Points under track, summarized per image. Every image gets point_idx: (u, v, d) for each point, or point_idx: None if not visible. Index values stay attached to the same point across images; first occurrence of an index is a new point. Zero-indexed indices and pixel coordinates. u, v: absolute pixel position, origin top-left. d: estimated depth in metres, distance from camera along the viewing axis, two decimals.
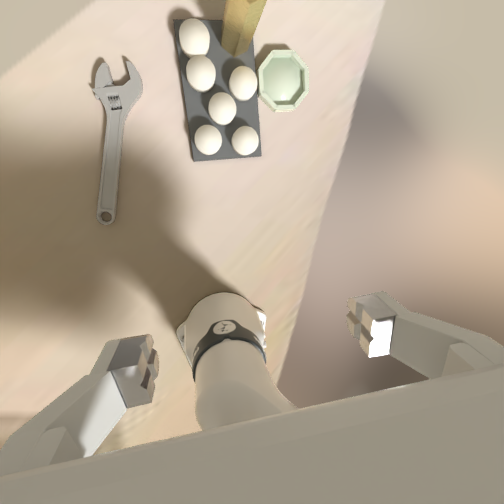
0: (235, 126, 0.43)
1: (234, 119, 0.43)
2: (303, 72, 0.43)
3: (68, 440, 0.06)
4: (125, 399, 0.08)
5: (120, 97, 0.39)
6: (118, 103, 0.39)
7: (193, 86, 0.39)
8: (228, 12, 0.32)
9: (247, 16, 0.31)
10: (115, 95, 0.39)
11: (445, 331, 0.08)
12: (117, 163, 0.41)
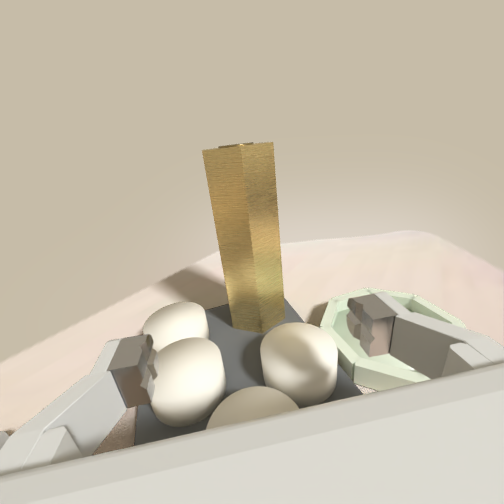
0: None
1: None
2: (412, 307, 0.20)
3: (68, 440, 0.06)
4: (125, 399, 0.08)
5: None
6: None
7: (160, 409, 0.13)
8: (217, 222, 0.16)
9: (249, 192, 0.15)
10: None
11: (445, 331, 0.08)
12: None
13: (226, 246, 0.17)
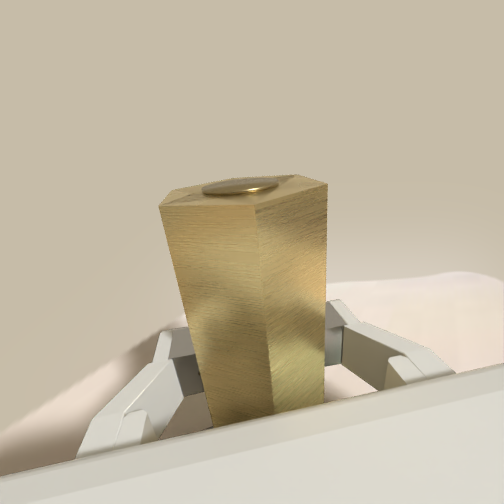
0: None
1: None
2: None
3: (148, 423, 0.06)
4: (183, 387, 0.09)
5: None
6: None
7: None
8: (198, 347, 0.08)
9: (273, 303, 0.06)
10: None
11: (388, 342, 0.08)
12: None
13: (218, 389, 0.08)
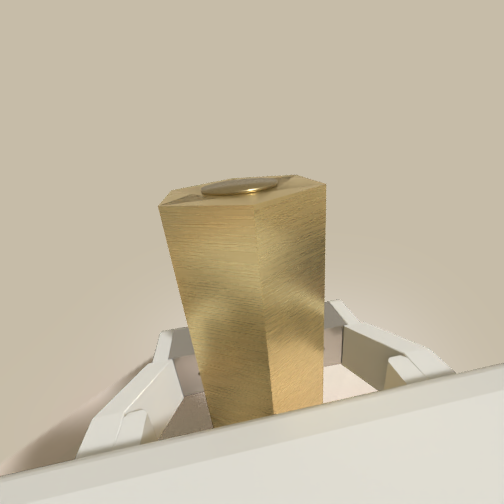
0: None
1: None
2: None
3: (148, 423, 0.06)
4: (183, 387, 0.09)
5: None
6: None
7: None
8: (197, 346, 0.08)
9: (272, 302, 0.06)
10: None
11: (388, 342, 0.08)
12: None
13: (217, 388, 0.08)
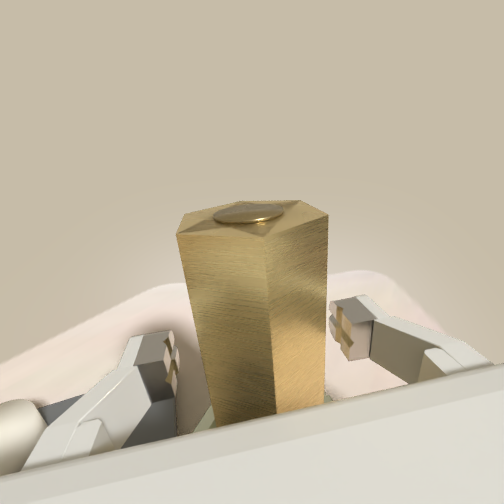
0: None
1: None
2: None
3: (103, 433, 0.06)
4: (150, 394, 0.08)
5: None
6: None
7: None
8: (207, 361, 0.08)
9: (278, 322, 0.07)
10: None
11: (421, 335, 0.08)
12: None
13: (224, 401, 0.09)
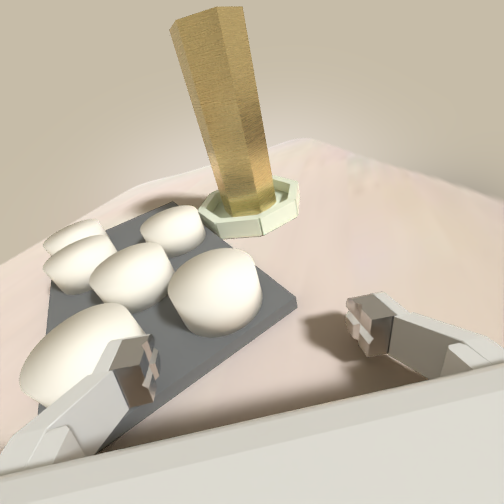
0: None
1: None
2: None
3: (71, 439, 0.06)
4: (127, 399, 0.08)
5: None
6: None
7: (62, 281, 0.17)
8: (203, 105, 0.17)
9: (231, 62, 0.15)
10: None
11: (443, 331, 0.08)
12: None
13: (216, 130, 0.18)
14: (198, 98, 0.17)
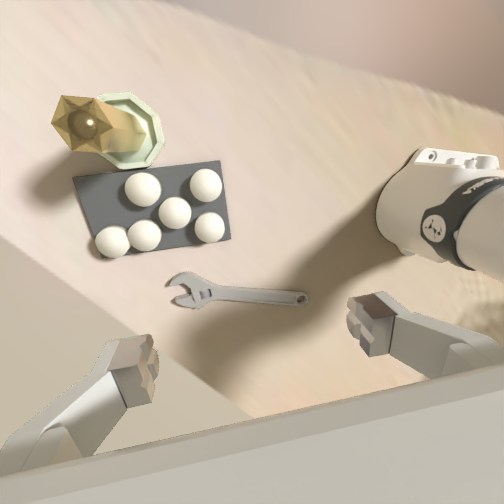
0: (190, 194, 0.37)
1: (182, 196, 0.37)
2: (107, 101, 0.31)
3: (68, 440, 0.06)
4: (125, 399, 0.08)
5: (200, 290, 0.43)
6: (205, 291, 0.43)
7: (159, 242, 0.38)
8: (119, 150, 0.26)
9: (120, 126, 0.24)
10: (199, 293, 0.44)
11: (445, 331, 0.08)
12: (256, 292, 0.45)
13: (125, 146, 0.28)
14: (115, 151, 0.26)
